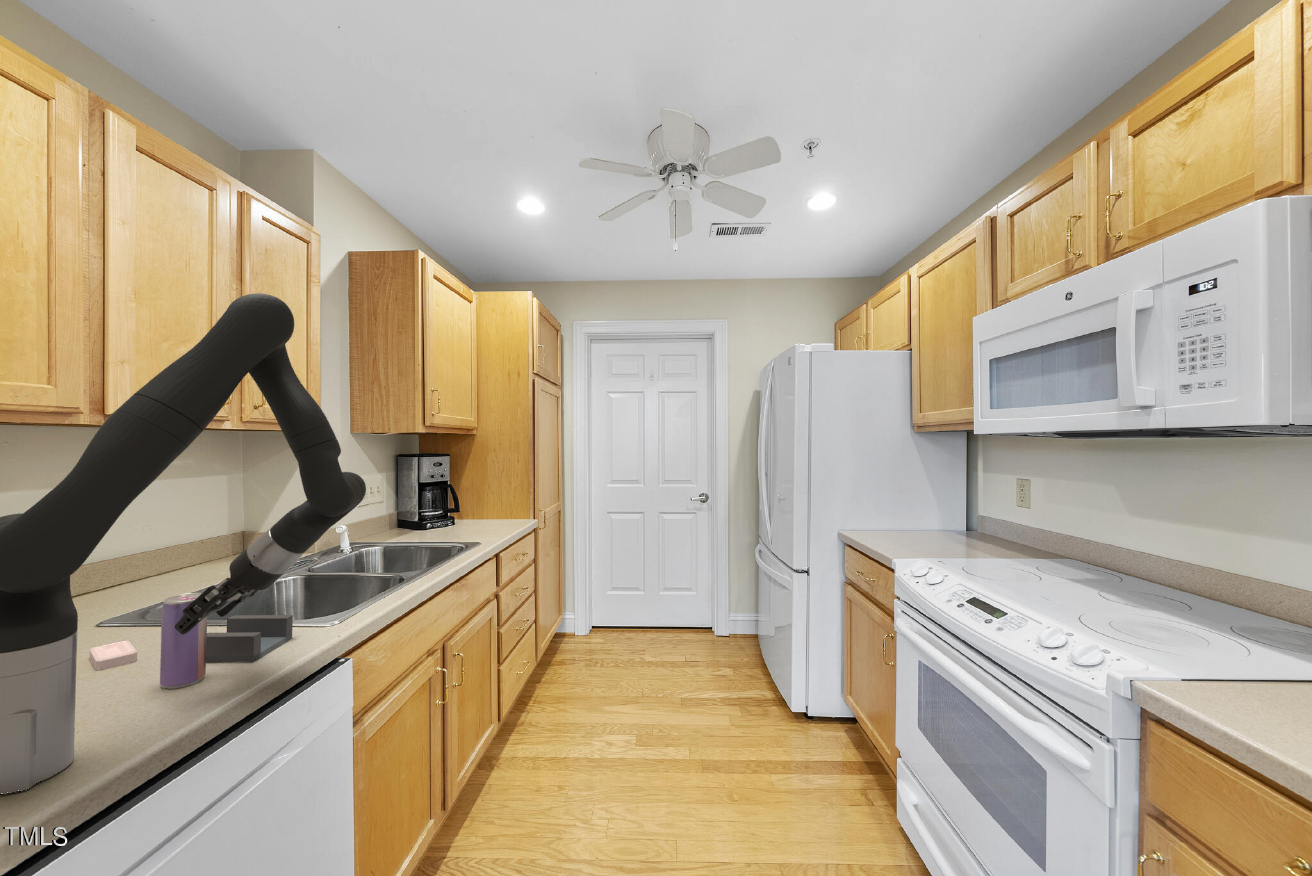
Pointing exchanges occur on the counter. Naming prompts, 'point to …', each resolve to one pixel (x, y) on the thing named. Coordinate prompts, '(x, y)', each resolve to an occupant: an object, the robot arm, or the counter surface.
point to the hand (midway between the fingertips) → (200, 621)
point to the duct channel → (248, 638)
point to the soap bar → (112, 655)
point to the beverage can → (181, 645)
